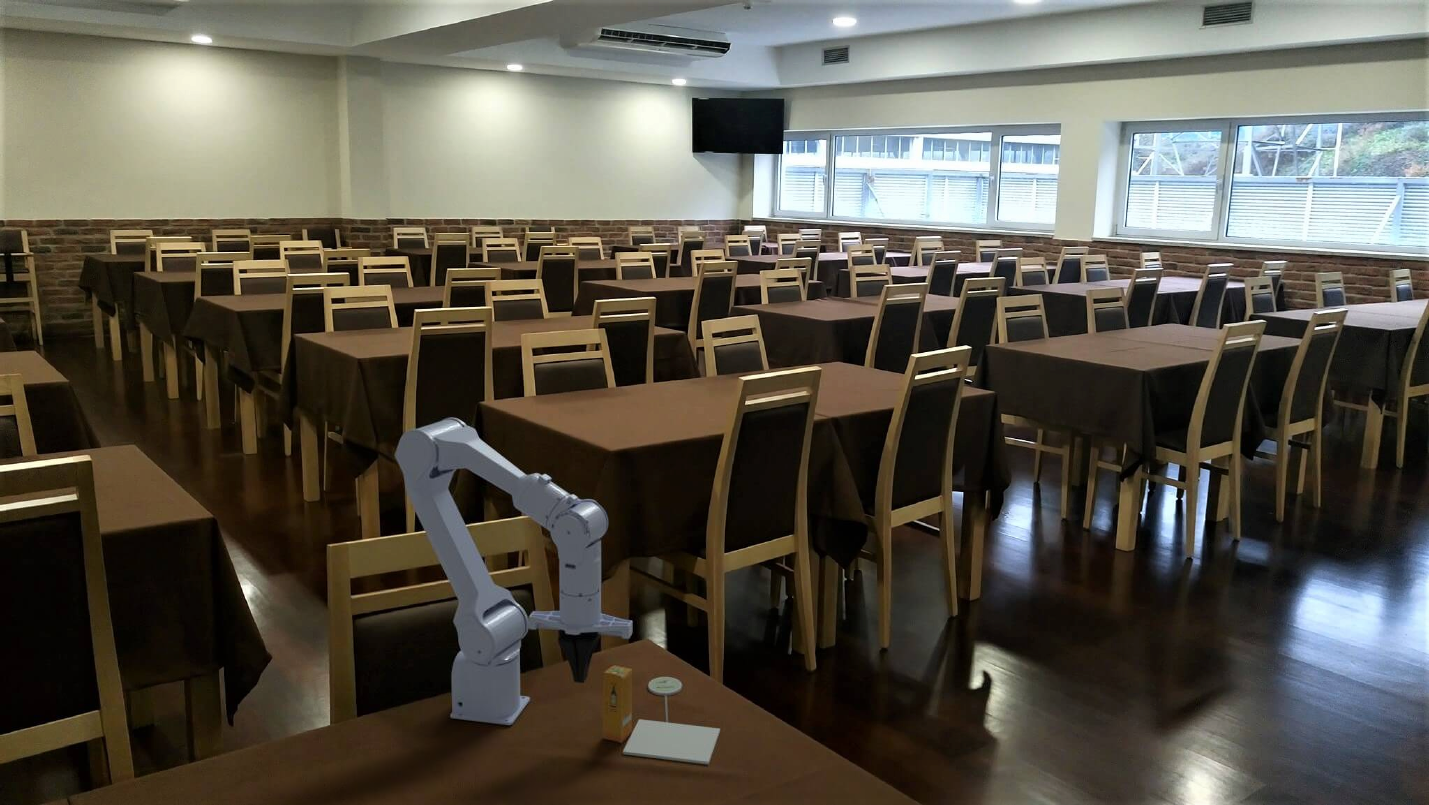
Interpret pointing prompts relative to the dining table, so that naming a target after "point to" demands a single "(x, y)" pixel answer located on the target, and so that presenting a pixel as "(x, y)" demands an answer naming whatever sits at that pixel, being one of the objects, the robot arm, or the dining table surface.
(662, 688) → the sign
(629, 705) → the supplement box
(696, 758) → the mat
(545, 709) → the dining table surface
